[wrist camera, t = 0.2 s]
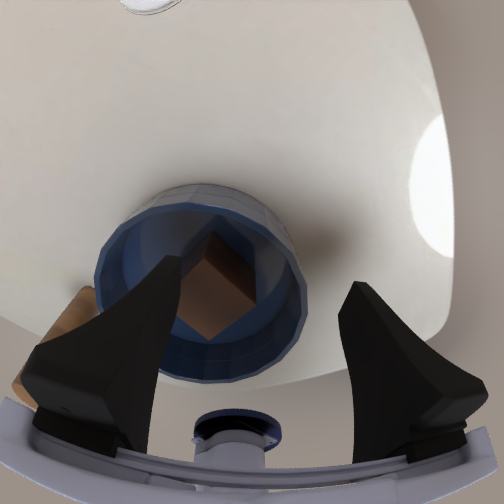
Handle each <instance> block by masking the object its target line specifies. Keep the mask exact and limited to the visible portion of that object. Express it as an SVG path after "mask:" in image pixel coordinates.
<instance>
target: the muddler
mask: <svg viewBox="0 0 504 504" xmlns="http://www.w3.org/2000/svg"><path fill="white" fill-rule="evenodd" d="M99 313H100V311H99V309H98V307H97V304H96V295H95V289H93V288H91V287H84V288H82V289H81V290H80V291H79V293H78V294H77V295H76V296H75V298H74V299H73V300H72V301H71V302H70V304H69V305H68V306H67V307H66V309H65V310H64V311H63V313H62V314H61V315H60V316H59V318H58V319H57V320H56V322H55V323H54V324H53V326H52V327H51V328H50V329H49V331H48V332H47V334H46V335H45V336H44V338H43V339H42V340H41V342H40V343H39V344H41V343H44V342H46V341H49V340H51V339H54V338H56V337H59V336H61V335H63V334H65V333H67V332H69V331H71V330H73V329H75V328H77V327H79V326H81V325H83V324H85V323H86V322H88V321H89V320H91V319H93V318H94V317H96V316H97V315H98V314H99ZM25 365H26V363H25ZM25 365H24V366H23V367H22V369H21V371H20V372H19V374H18V375H17V377H16V378H15V380H14V381H13V383H12V388H13V390H14V392H15V393H16V395H17V396H18V397H19V398H20V399H21V400H22V401H24V402H25V403H26V404H28V405H29V406H31V407H33V408H35V409H37V408H38V405H37V403H36V402H35V401H34V400H33V398H32V397H31V396H30V395H29V394H28V392H27V391H26V390H25V388H24V387H23V385H22V384H21V380H20V375H21V373H22V371H23V369H24V367H25Z"/></svg>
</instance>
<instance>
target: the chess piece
mask: <svg viewBox="0 0 504 504" xmlns="http://www.w3.org/2000/svg"><path fill="white" fill-rule="evenodd" d="M120 1H121V3H122V4H123V6H124V7H125V8H126V9H127V10H128V11H130V12H132V13H135V14H141V15H147V14H154V13H158V12H161V11H164V10H166V9H168V8H170V7H172V6H173V5H175V4H176V3H178V2H179V1H180V0H120Z"/></svg>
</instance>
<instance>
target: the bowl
mask: <svg viewBox="0 0 504 504" xmlns="http://www.w3.org/2000/svg"><path fill="white" fill-rule="evenodd" d="M211 232H215V233H216V234H217V235H218V236H219V237H220V238H221V239H222V240H223V241H224V242H225V243H226V244H227V245H228V246H229V247H231V248H232V249H233V250H234V251H235V252H236V253H237V254H238V255H239V256H240V257H241V258H242V259H243V260H244V261H245V262H247V263H248V264H249V265H250V266H251V267H252V268H253V269H254V270H255V271H256V298H257V305H256V306H255V307H254V308H252V309H251V310H250V311H248V312H247V313H246V314H244V315H243V316H242V317H240V318H239V319H238V320H236V321H235V322H234V323H232V324H231V325H230V326H228V327H227V328H226V329H224V330H223V331H222V332H220V333H219V334H218V335H216V336H215V337H213V338H212V339H211V340H208V339H206V338H205V337H204V336H202V335H201V334H200V333H198V332H197V331H196V330H194V329H193V328H192V327H190V326H189V325H188V324H187V323H185V322H184V321H183V320H182V319H180V318H179V317H178V316H176V318H175V321H174V324H173V327H172V330H171V333H170V336H169V339H168V342H167V345H166V348H165V351H164V354H163V357H162V360H161V364H160V368H159V372H160V373H162V374H165V375H167V376H170V377H172V378H174V379H179V380H184V381H190V382H195V383H201V384H213V383H231V382H235V381H239V380H242V379H246V378H249V377H252V376H256V375H258V374H260V373H262V372H263V371H265V370H267V369H268V368H270V367H271V366H273V365H275V364H276V363H278V362H279V361H281V360H282V359H283V358H284V356H285V355H286V354H287V353H288V352H289V351H290V349H291V348H292V347H293V346H294V345H295V344H296V342H297V341H298V340H299V337H300V334H301V332H302V329H303V326H304V323H305V321H306V318H307V314H308V305H307V285H306V281H305V278H304V275H303V272H302V268H301V265H300V262H299V259H298V256H297V253H296V251H295V249H294V246H293V244H292V242H291V239H290V237H289V235H288V233H287V231H286V229H285V227H284V226H283V225H282V223H281V222H280V221H279V220H278V219H277V217H276V216H275V215H274V214H273V213H272V212H271V211H270V210H269V209H268V208H266V207H265V206H264V205H263V204H261V203H260V202H258V201H257V200H256V199H254V198H252V197H250V196H248V195H246V194H244V193H242V192H240V191H237V190H234V189H231V188H228V187H224V186H219V185H210V184H194V185H186V186H181V187H177V188H174V189H171V190H168V191H166V192H163V193H162V194H160V195H158V196H156V197H154V198H153V199H152V200H150V201H148V202H147V203H145V204H143V205H142V206H141V207H140V208H139V209H137V210H136V211H135V212H134V213H133V214H132V215H131V216H129V217H128V218H127V219H126V220H125V221H124V222H123V223H122V224H121V225H119V227H118V228H117V229H116V230H115V232H114V233H113V234H112V236H111V237H110V238H109V240H108V241H107V242H106V243H105V245H104V246H103V247H102V249H101V251H100V255H99V259H98V262H97V266H96V270H95V274H94V285H95V295H96V304H97V307H98V309H99V311H100V313H102V312H104V311H105V310H106V309H108V308H109V307H110V306H112V305H113V304H114V303H116V302H117V301H118V300H119V299H121V298H122V297H123V296H124V295H125V294H127V293H128V292H129V291H130V290H131V289H132V288H133V287H135V286H136V285H137V284H138V283H139V282H140V281H141V280H142V279H143V278H144V277H145V276H146V275H147V274H148V273H149V272H150V271H151V270H152V269H153V268H154V267H155V266H156V265H157V264H158V263H159V262H160V261H161V260H162V258H163V257H164V256H166V255H172V256H179V257H182V260H183V259H184V258H185V257H186V256H187V255H188V254H189V253H190V252H191V251H192V250H193V249H194V248H195V247H196V246H197V245H198V244H199V243H200V242H202V241H203V240H204V239H205V238H206V237H207V236H208V235H209V234H210V233H211ZM182 260H181V261H182Z"/></svg>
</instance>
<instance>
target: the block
mask: <svg viewBox="0 0 504 504" xmlns="http://www.w3.org/2000/svg"><path fill="white" fill-rule="evenodd" d="M256 305H257V298H256V271H255V270H254V269H253V268H252V267H251V266H250V265H249V264H248V263H247V262H245V261H244V260H243V259H242V258H241V257H240V256H239V255H238V254H237V253H236V252H235V251H234V250H233V249H232V248H231V247H229V246H228V245H227V244H226V243H225V242H224V241H223V240H222V239H221V238H220V237H219V236H218V235H217V234H216V233H215V232H211V233H210V234H209V235H208V236H207V237H206V238H205V239H204V240H203V241H202V242H200V243H199V244H198V245H197V246H196V247H195V248H194V249H193V250H192V251H191V252H190V253H189V254H188V255H187V256H186V257H185V258H184V259H183V260H182V261H181V295H180V300H179V305H178V309H177V314H176V316H178V317H179V318H180V319H182V320H183V321H184V322H185V323H187V324H188V325H189V326H190V327H192V328H193V329H194V330H196V331H197V332H198V333H200V334H201V335H202V336H204V337H205V338H206V339H208V340H211V339H212V338H213V337H215V336H216V335H218V334H219V333H220V332H222V331H223V330H224V329H226V328H227V327H228V326H230V325H231V324H232V323H234V322H235V321H236V320H238V319H239V318H240V317H242V316H243V315H244V314H246V313H247V312H248V311H250V310H251V309H252V308H254V307H255V306H256Z"/></svg>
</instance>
